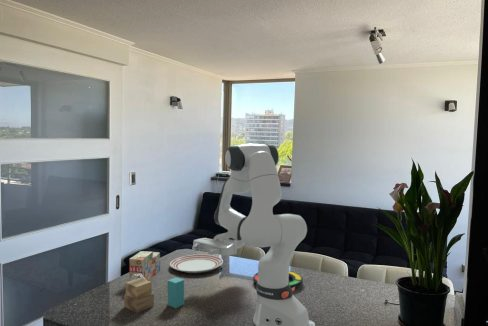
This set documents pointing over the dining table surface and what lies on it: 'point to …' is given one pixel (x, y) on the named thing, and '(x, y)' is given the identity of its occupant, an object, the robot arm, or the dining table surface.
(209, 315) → the dining table surface
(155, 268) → the stack of blocks
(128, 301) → the walnut base block
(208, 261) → the dinner plate
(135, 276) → the game die
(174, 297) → the teal pillar
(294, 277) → the electronic game
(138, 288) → the oak top block
